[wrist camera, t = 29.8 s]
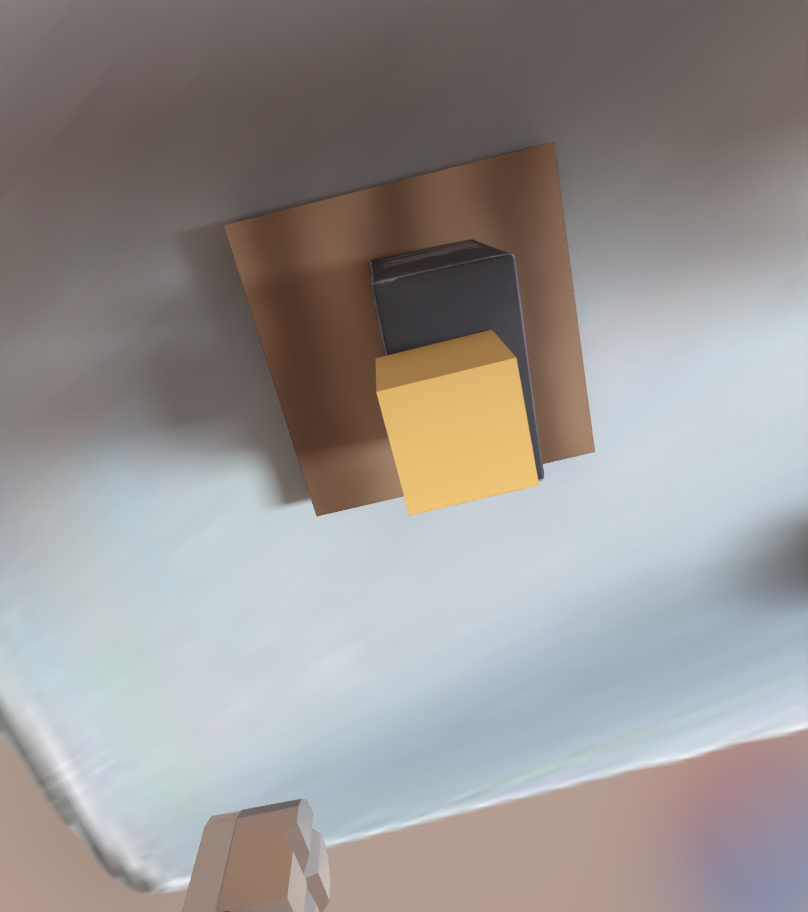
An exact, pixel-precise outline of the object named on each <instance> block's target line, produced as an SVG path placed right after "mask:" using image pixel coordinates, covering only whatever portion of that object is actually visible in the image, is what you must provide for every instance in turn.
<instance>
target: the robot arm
mask: <svg viewBox="0 0 808 912" xmlns="http://www.w3.org/2000/svg"><path fill="white" fill-rule="evenodd" d="M312 820H313V813H312V810H311V808H310V806H309V804H308V802H307V799H298V800H293V801H287V802H282V803H276V804H271V805H266V806H260V807H255V808H249V809H244V810H241V811H236V812H231V813H225V814H220V815H215V816H211V818H210V819H209V821H208V822H207V824H206V826H205V828H204V831H203V835H202V839H201V843H200V846H199V850H198V854H197V858H196V861H195V865H194V869H193V872H192V876H191V880H190V884H189V887H188V891H187V895H186V899H185V902H184V906H183V910H182V912H323V911H324V909H325V907H326V906H327V904H328V903H329V900H330V870H329V859H328V855H327V850H326V846H325V843H324V840H323V838H322V835H321V834H320V833H319V832H317V831H315V830H314V829H312Z"/></svg>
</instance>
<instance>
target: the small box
mask: <svg viewBox="0 0 808 912" xmlns="http://www.w3.org/2000/svg"><path fill="white" fill-rule="evenodd" d="M368 266H369V271H370V275H371V280H372V283H371V291H372V296H373V301H374V306H375V310H376V315H377V320H378V325H379V330H380V334H381V339H382V344H383V349H384V353H385V356H387V355H391V354H395V353H399V352H403V351H407V350H411V349H415V348H419V347H423V346H427V345H431V344H436V343H440V342H444V341H448V340H452V339H456V338H460V337H464V336H468V335H472V334H476V333H480V332H484V331H488V330H493V331H494V333H495V334H496V335H497V336H498V337H499V338H500V339H501V341H502V342H503V343H504V344H505V345H506V346H507V347H508V349H509V350H510V351H511V352H512V353H513V354H514V355H515V357H516V358H517V364H518V370H519V375H520V381H521V386H522V392H523V398H524V403H525V409H526V415H527V420H528V426H529V431H530V437H531V443H532V448H533V454H534V460H535V465H536V471H537V476H538V481H542V480H543V479H544V470H543V464H542V456H541V449H540V442H539V434H538V427H537V420H536V412H535V405H534V398H533V391H532V383H531V376H530V368H529V361H528V353H527V346H526V338H525V330H524V323H523V315H522V307H521V300H520V292H519V284H518V276H517V269H516V261H515V256H514V254H512V253H509V252H505V251H502V250H499V249H497V248H494V247H491V246H488V245H486V244H483V243H481V242H478V241H476V240H474V239H471V240H466V241H460V242H455V243H451V244H445V245H441V246H436V247H431V248H427V249H422V250H417V251H412V252H408V253H403V254H398V255H393V256H388V257H384V258H379V259H374V260H371V261H370V263H369V265H368Z"/></svg>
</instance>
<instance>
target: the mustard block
mask: <svg viewBox="0 0 808 912" xmlns="http://www.w3.org/2000/svg"><path fill="white" fill-rule="evenodd" d="M375 360H376V393H377V397H378V400H379V404H380V408H381V412H382V415H383V419H384V423H385V427H386V430H387V434H388V438H389V442H390V445H391V449H392V453H393V457H394V460H395V464H396V468H397V472H398V475H399V479H400V483H401V487H402V490H403V494H404V498H405V502H406V505H407V509H408V513H409V516H410V515H414V514H418V513H423V512H427V511H431V510H435V509H440V508H444V507H448V506H452V505H457V504H461V503H465V502H469V501H474V500H478V499H482V498H486V497H490V496H495V495H499V494H503V493H507V492H512V491H516V490H520V489H524V488H529V487H533V486H537V485H539V482H538V476H537V471H536V465H535V460H534V454H533V448H532V443H531V437H530V431H529V426H528V420H527V415H526V409H525V403H524V398H523V392H522V386H521V381H520V375H519V370H518V364H517V358H516V357H515V355H514V354H513V353H512V352H511V351H510V350H509V349H508V347H507V346H506V345H505V344H504V343H503V342H502V341H501V339H500V338H499V337H498V336H497V335H496V334H495V333H494V331H493V330H488V331H484V332H480V333H476V334H472V335H468V336H464V337H460V338H456V339H452V340H448V341H444V342H440V343H436V344H431V345H427V346H423V347H419V348H415V349H411V350H407V351H403V352H399V353H395V354H391V355H387V356H383V357H379V358H375Z"/></svg>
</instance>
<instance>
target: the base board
mask: <svg viewBox="0 0 808 912" xmlns="http://www.w3.org/2000/svg"><path fill="white" fill-rule="evenodd" d="M224 228H225V231H226V235H227V238H228V241H229V244H230V247H231V250H232V253H233V256H234V260H235V263H236V266H237V269H238V272H239V275H240V278H241V281H242V285H243V288H244V291H245V294H246V297H247V300H248V303H249V306H250V310H251V313H252V316H253V319H254V322H255V325H256V328H257V331H258V335H259V338H260V341H261V344H262V347H263V350H264V353H265V356H266V360H267V363H268V366H269V369H270V372H271V375H272V378H273V381H274V385H275V388H276V391H277V394H278V397H279V400H280V403H281V407H282V410H283V413H284V416H285V419H286V422H287V425H288V428H289V432H290V435H291V438H292V441H293V444H294V447H295V450H296V453H297V457H298V460H299V463H300V466H301V469H302V472H303V475H304V478H305V482H306V485H307V488H308V491H309V494H310V497H311V500H312V503H313V507H314V510H315V513H316V516H321V515H325V514H329V513H333V512H338V511H342V510H346V509H351V508H355V507H359V506H364V505H368V504H372V503H377V502H381V501H385V500H390V499H394V498H398V497H402V496H404V494H403V490H402V487H401V483H400V479H399V475H398V472H397V468H396V464H395V460H394V457H393V453H392V449H391V445H390V442H389V438H388V434H387V430H386V427H385V423H384V419H383V415H382V412H381V408H380V404H379V400H378V397H377V393H376V360H375V358H379V357H383V356H385V353H384V349H383V344H382V339H381V334H380V330H379V325H378V320H377V315H376V310H375V306H374V301H373V296H372V291H371V283H372V280H371V275H370V271H369V266H368V265H369V263H370V261H371V260H374V259H379V258H384V257H388V256H393V255H398V254H403V253H408V252H412V251H417V250H422V249H427V248H431V247H436V246H441V245H445V244H451V243H455V242H460V241H466V240H471V239H474V240H476V241H478V242H481V243H483V244H486V245H488V246H491V247H494V248H497V249H499V250H502V251H505V252H509V253H512V254H514V256H515V261H516V269H517V276H518V284H519V292H520V300H521V307H522V315H523V323H524V330H525V338H526V346H527V353H528V361H529V368H530V376H531V383H532V391H533V398H534V405H535V412H536V420H537V427H538V434H539V442H540V449H541V456H542V464H545V463H549V462H553V461H558V460H562V459H566V458H571V457H575V456H579V455H583V454H588V453H592V452H595V448H594V441H593V433H592V426H591V418H590V411H589V403H588V396H587V388H586V381H585V373H584V365H583V358H582V350H581V343H580V335H579V328H578V320H577V313H576V305H575V298H574V290H573V283H572V275H571V267H570V260H569V252H568V245H567V237H566V230H565V222H564V215H563V207H562V200H561V192H560V185H559V177H558V170H557V162H556V154H555V147H554V142H550V143H546V144H542V145H538V146H534V147H530V148H527V149H523V150H519V151H515V152H511V153H507V154H503V155H499V156H495V157H491V158H487V159H483V160H479V161H475V162H471V163H467V164H463V165H459V166H455V167H452V168H448V169H444V170H440V171H436V172H432V173H428V174H424V175H420V176H416V177H412V178H408V179H404V180H400V181H396V182H392V183H388V184H384V185H380V186H377V187H373V188H369V189H365V190H361V191H357V192H353V193H349V194H345V195H341V196H337V197H333V198H329V199H325V200H321V201H317V202H313V203H309V204H305V205H302V206H298V207H294V208H290V209H286V210H282V211H278V212H274V213H270V214H266V215H262V216H258V217H254V218H250V219H246V220H242V221H238V222H234V223H230V224H227V225H224Z"/></svg>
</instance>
